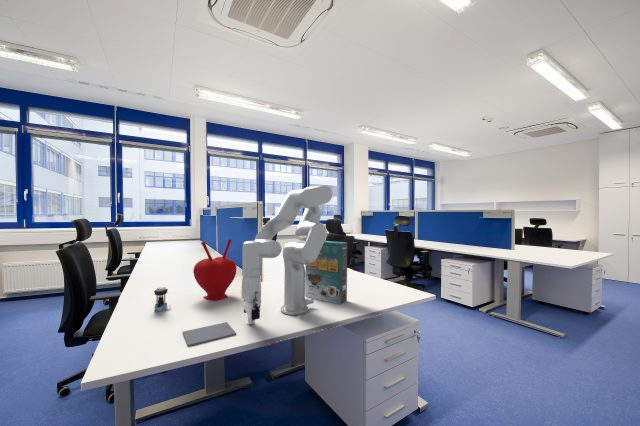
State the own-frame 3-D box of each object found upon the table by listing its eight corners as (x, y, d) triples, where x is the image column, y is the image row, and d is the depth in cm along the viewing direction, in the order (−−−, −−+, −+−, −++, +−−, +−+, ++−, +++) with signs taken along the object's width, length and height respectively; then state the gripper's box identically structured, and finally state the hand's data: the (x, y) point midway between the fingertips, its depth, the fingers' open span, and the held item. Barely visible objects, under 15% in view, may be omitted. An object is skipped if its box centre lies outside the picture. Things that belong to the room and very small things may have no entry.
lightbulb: (251, 328, 103) (251, 300, 103) (239, 325, 106) (240, 297, 106) (262, 323, 108) (263, 296, 108) (251, 319, 112) (252, 293, 112)
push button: (171, 307, 126) (171, 285, 126) (170, 311, 121) (170, 288, 121) (154, 309, 123) (155, 287, 123) (152, 313, 118) (153, 290, 118)
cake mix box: (346, 301, 137) (347, 242, 138) (341, 304, 132) (341, 243, 132) (311, 293, 149) (312, 239, 149) (305, 296, 144) (305, 240, 144)
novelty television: (226, 290, 153) (226, 238, 153) (240, 294, 146) (241, 239, 146) (190, 299, 136) (191, 240, 136) (204, 305, 129) (205, 242, 129)
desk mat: (226, 323, 108) (226, 321, 108) (236, 334, 98) (236, 333, 98) (182, 333, 99) (182, 331, 99) (187, 346, 89) (187, 344, 89)
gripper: (235, 269, 112) (235, 310, 112) (250, 277, 98) (250, 325, 98) (253, 267, 117) (252, 307, 117) (269, 275, 102) (269, 320, 102)
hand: (251, 315), depth 107 cm, fingers open, 8 cm apart
